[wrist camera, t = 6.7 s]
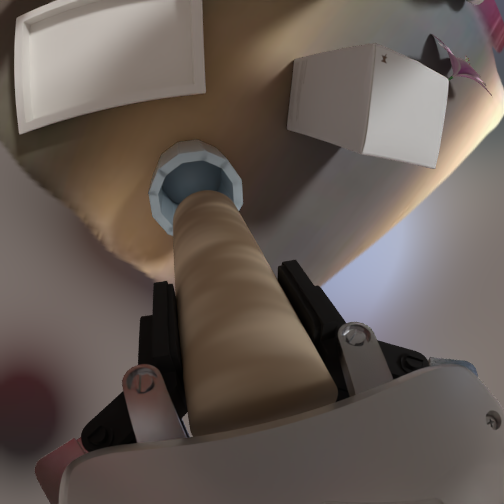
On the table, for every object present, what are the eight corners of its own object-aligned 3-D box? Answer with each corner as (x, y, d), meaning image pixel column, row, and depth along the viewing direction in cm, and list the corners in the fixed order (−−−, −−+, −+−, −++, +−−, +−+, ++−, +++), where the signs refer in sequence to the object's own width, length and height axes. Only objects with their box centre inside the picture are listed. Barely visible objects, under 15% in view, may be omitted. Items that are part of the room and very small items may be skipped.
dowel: (237, 186, 18) (352, 355, 7) (240, 246, 21) (325, 428, 9) (168, 195, 18) (172, 396, 6) (178, 256, 20) (204, 458, 8)
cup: (224, 136, 30) (240, 146, 23) (229, 204, 34) (244, 233, 27) (150, 145, 28) (142, 159, 22) (160, 214, 32) (158, 247, 26)
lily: (462, 92, 35) (501, 73, 25) (454, 129, 33) (502, 109, 23) (417, 40, 32) (453, 14, 23) (401, 68, 30) (447, 36, 21)
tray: (199, -18, 20) (201, -29, 18) (203, 93, 27) (206, 92, 25) (27, 22, 16) (16, 17, 14) (31, 131, 23) (19, 134, 21)
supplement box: (284, 131, 31) (358, 156, 19) (292, 58, 27) (373, 38, 15) (350, 140, 34) (437, 172, 21) (359, 75, 30) (451, 78, 17)
